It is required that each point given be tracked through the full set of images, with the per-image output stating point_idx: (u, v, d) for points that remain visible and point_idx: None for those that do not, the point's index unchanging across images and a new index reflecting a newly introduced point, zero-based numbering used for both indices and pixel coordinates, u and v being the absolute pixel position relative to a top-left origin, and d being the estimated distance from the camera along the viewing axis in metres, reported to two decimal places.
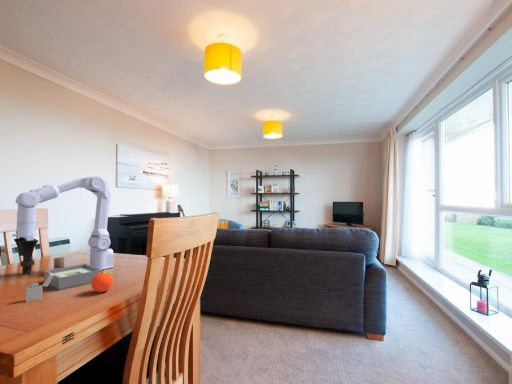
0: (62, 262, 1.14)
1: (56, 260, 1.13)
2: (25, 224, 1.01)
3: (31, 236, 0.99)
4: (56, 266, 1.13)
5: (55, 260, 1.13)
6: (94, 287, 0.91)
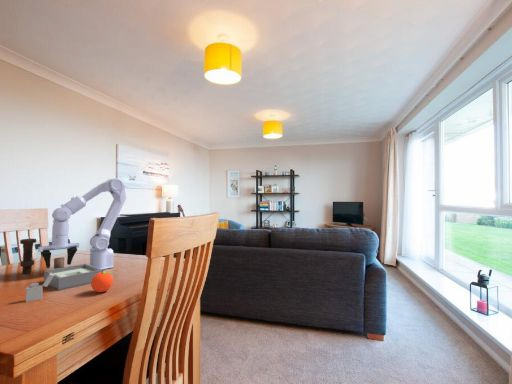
0: (62, 262, 1.14)
1: (56, 260, 1.13)
2: (52, 236, 1.13)
3: (39, 248, 1.09)
4: (56, 266, 1.13)
5: (55, 260, 1.13)
6: (94, 287, 0.91)
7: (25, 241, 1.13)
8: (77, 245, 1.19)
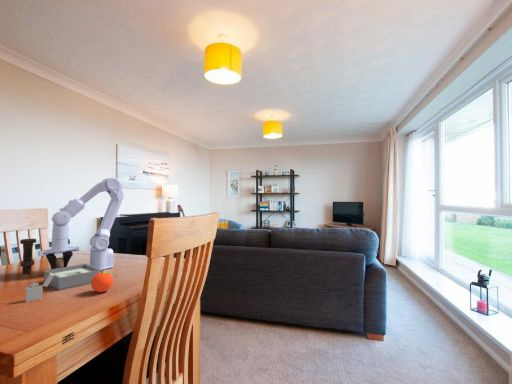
0: (62, 262, 1.14)
1: (56, 260, 1.13)
2: (52, 240, 1.13)
3: (39, 252, 1.09)
4: (56, 266, 1.13)
5: None
6: (94, 287, 0.91)
7: (25, 241, 1.13)
8: (77, 249, 1.19)
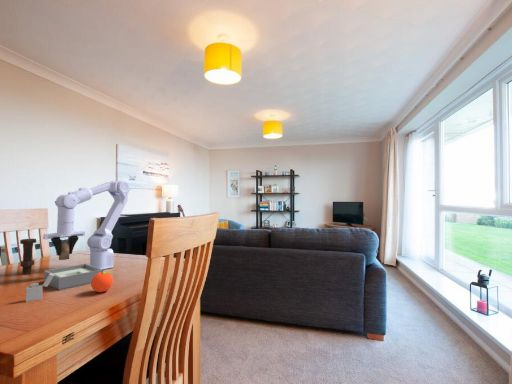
0: (67, 246, 1.11)
1: (61, 244, 1.10)
2: (57, 224, 1.10)
3: (44, 235, 1.06)
4: (61, 250, 1.10)
5: None
6: (94, 287, 0.91)
7: (25, 241, 1.13)
8: (83, 233, 1.16)
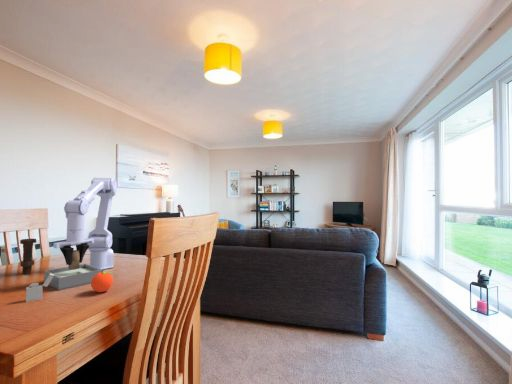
0: (78, 255, 1.05)
1: (72, 253, 1.04)
2: (67, 231, 1.04)
3: (55, 244, 0.99)
4: (72, 259, 1.04)
5: None
6: (94, 287, 0.91)
7: (25, 241, 1.13)
8: (92, 241, 1.11)
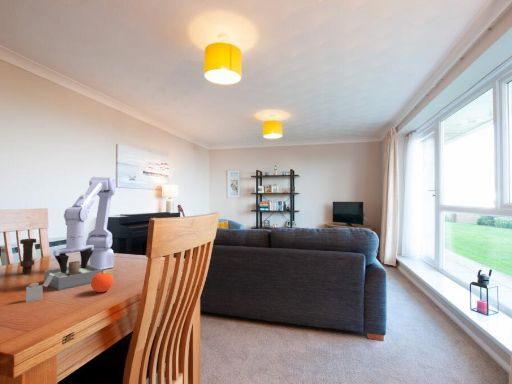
0: (78, 266, 1.05)
1: (72, 264, 1.04)
2: None
3: (55, 251, 0.99)
4: (72, 271, 1.03)
5: (71, 264, 1.03)
6: (94, 287, 0.91)
7: (25, 241, 1.13)
8: (92, 247, 1.11)
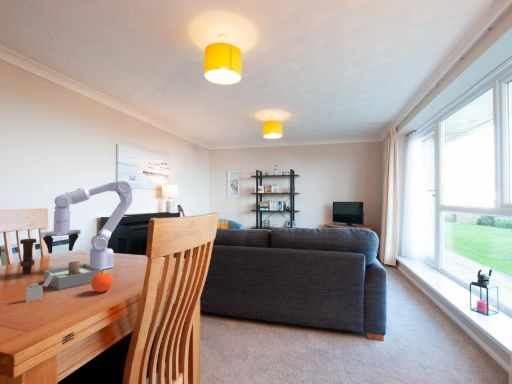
0: (78, 266, 1.05)
1: (72, 264, 1.04)
2: None
3: (41, 233, 1.11)
4: (72, 271, 1.03)
5: (71, 264, 1.03)
6: (94, 287, 0.91)
7: (25, 241, 1.13)
8: (78, 232, 1.21)
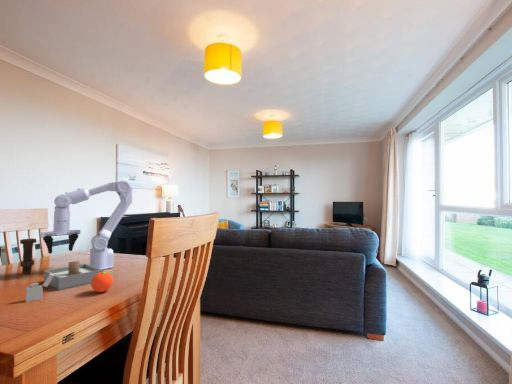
0: (78, 266, 1.05)
1: (72, 264, 1.04)
2: None
3: (41, 233, 1.11)
4: (72, 271, 1.03)
5: (71, 264, 1.03)
6: (94, 287, 0.91)
7: (25, 241, 1.13)
8: (78, 232, 1.22)
